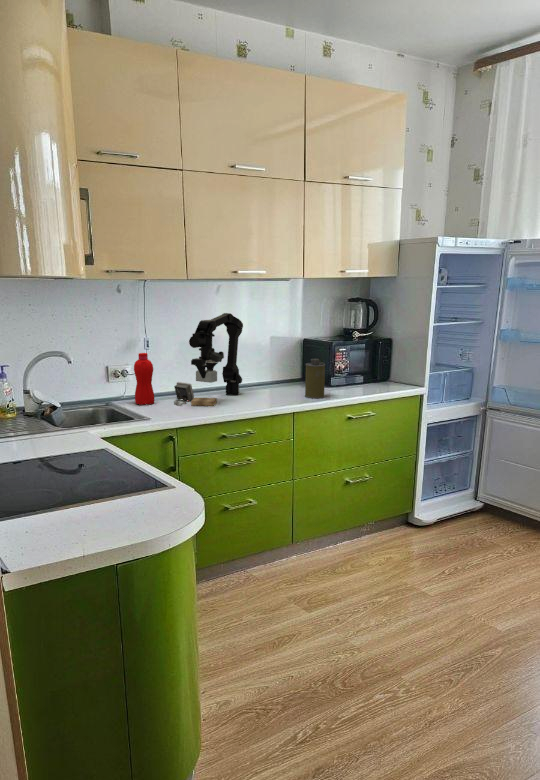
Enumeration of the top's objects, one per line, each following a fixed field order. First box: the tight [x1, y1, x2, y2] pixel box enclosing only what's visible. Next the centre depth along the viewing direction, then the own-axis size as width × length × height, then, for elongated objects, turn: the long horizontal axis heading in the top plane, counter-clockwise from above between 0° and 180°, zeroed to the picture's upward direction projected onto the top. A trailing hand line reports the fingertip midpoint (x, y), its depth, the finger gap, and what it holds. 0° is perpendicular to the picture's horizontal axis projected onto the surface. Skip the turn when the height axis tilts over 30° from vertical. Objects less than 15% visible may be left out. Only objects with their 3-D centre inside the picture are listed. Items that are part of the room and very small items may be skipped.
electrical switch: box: [173, 381, 195, 402], centre depth 279 cm, size 9×5×9 cm, turn 57°
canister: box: [304, 358, 326, 399], centre depth 289 cm, size 11×10×20 cm
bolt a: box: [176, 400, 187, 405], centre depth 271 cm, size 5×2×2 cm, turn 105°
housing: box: [195, 369, 218, 384], centre depth 273 cm, size 6×9×6 cm, turn 63°
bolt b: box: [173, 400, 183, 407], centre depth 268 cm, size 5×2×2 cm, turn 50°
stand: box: [190, 397, 218, 407], centre depth 270 cm, size 11×8×2 cm
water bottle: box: [133, 352, 155, 406], centre depth 271 cm, size 9×11×25 cm
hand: (206, 377), depth 273 cm, fingers closed on housing, 5 cm apart
